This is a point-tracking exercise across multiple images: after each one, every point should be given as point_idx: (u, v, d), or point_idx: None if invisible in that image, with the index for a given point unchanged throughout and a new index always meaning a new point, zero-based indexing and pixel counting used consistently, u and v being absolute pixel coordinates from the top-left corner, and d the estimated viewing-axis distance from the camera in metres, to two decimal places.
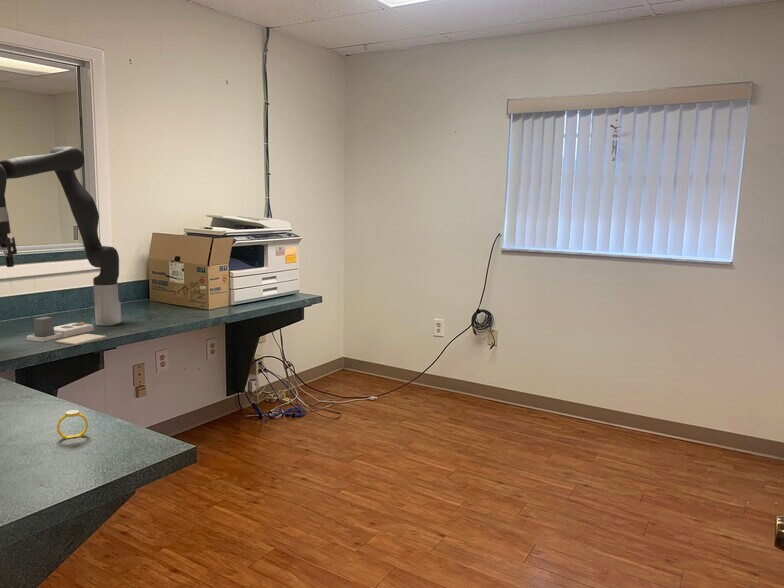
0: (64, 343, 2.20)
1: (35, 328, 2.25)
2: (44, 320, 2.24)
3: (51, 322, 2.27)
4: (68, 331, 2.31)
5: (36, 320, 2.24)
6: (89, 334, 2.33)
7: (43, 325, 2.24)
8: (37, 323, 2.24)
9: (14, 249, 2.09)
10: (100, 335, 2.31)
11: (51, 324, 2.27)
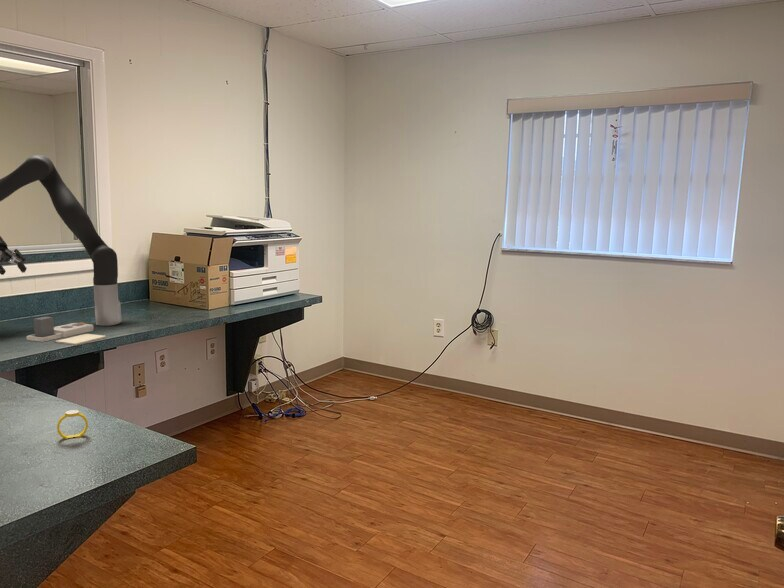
0: (64, 343, 2.20)
1: (35, 328, 2.25)
2: (44, 320, 2.24)
3: (51, 322, 2.27)
4: (68, 331, 2.31)
5: (36, 320, 2.24)
6: (89, 334, 2.33)
7: (43, 325, 2.24)
8: (37, 323, 2.24)
9: None
10: (100, 335, 2.31)
11: (51, 324, 2.27)
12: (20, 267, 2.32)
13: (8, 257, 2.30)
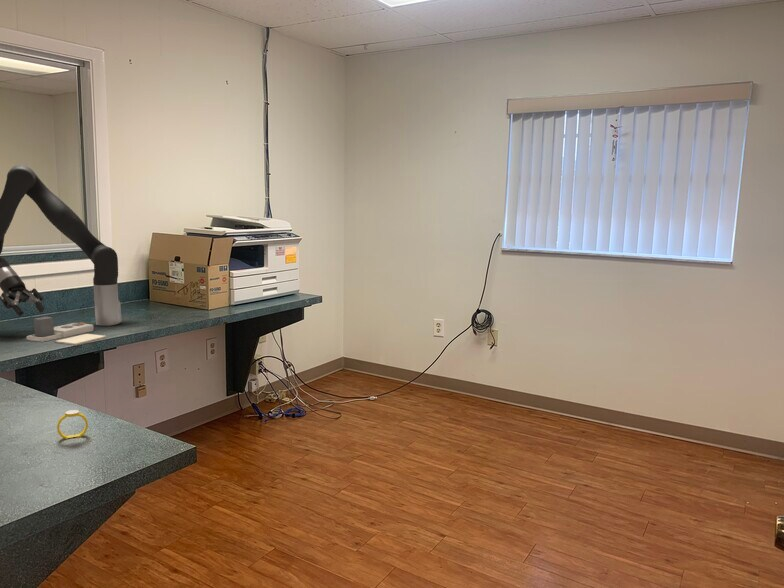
0: (64, 343, 2.20)
1: (35, 328, 2.25)
2: (44, 320, 2.24)
3: (51, 322, 2.27)
4: (68, 331, 2.31)
5: (36, 320, 2.24)
6: (89, 334, 2.33)
7: (43, 325, 2.24)
8: (37, 323, 2.24)
9: None
10: (100, 335, 2.31)
11: (51, 324, 2.27)
12: (38, 307, 2.32)
13: (26, 297, 2.29)
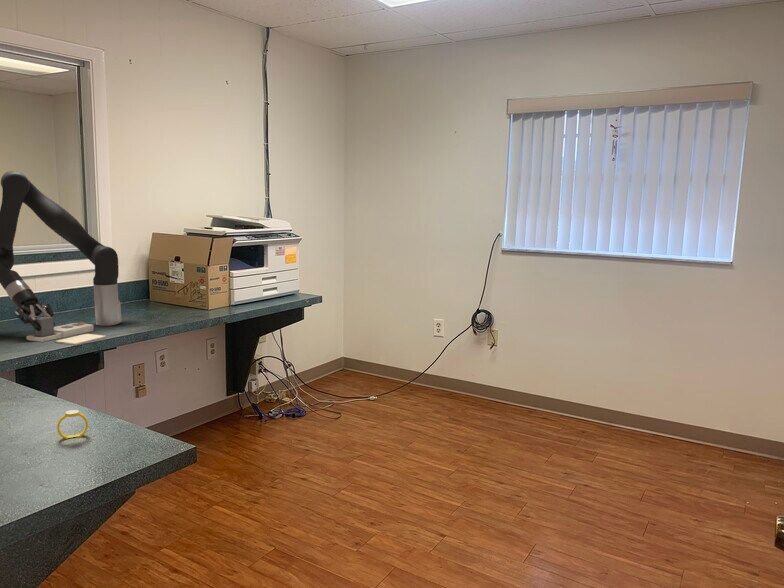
0: (64, 343, 2.20)
1: None
2: (44, 320, 2.24)
3: (51, 322, 2.27)
4: (68, 331, 2.31)
5: None
6: (89, 334, 2.33)
7: (43, 325, 2.24)
8: None
9: None
10: (100, 335, 2.31)
11: (51, 324, 2.27)
12: None
13: (37, 311, 2.27)
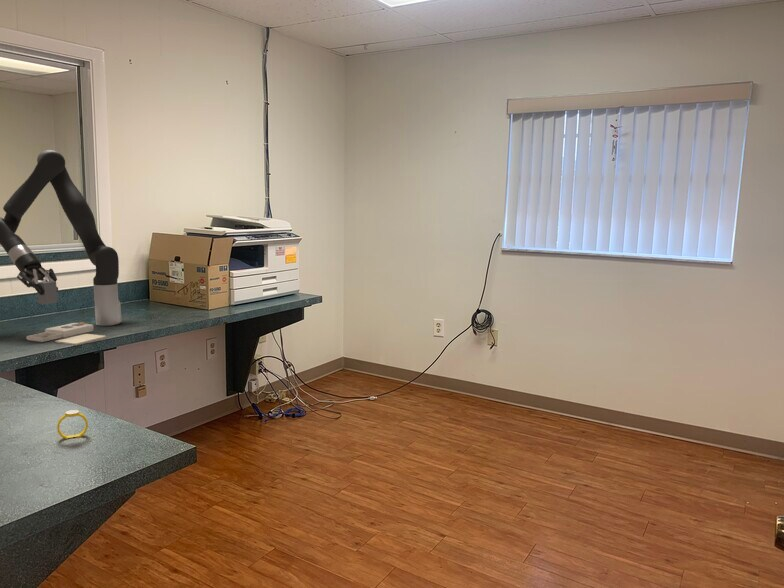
0: (64, 343, 2.20)
1: None
2: (47, 284, 2.22)
3: (54, 287, 2.25)
4: (68, 331, 2.31)
5: None
6: (89, 334, 2.33)
7: (46, 288, 2.22)
8: None
9: None
10: (100, 335, 2.31)
11: (54, 288, 2.25)
12: None
13: (40, 275, 2.25)
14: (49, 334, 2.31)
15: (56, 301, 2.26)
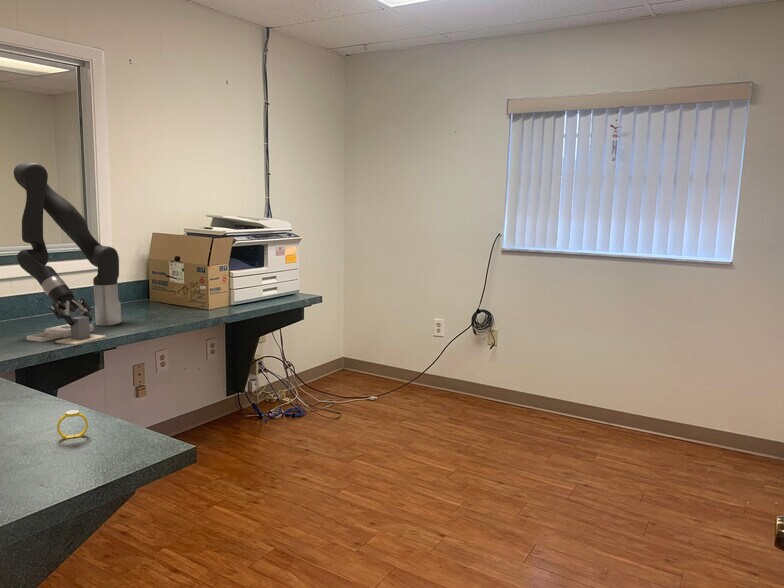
0: (64, 343, 2.20)
1: (71, 328, 2.23)
2: (80, 320, 2.23)
3: (87, 322, 2.26)
4: (68, 331, 2.31)
5: (73, 319, 2.23)
6: None
7: (80, 324, 2.23)
8: None
9: None
10: (100, 335, 2.31)
11: (87, 323, 2.26)
12: None
13: (74, 307, 2.26)
14: (49, 334, 2.31)
15: (89, 336, 2.27)
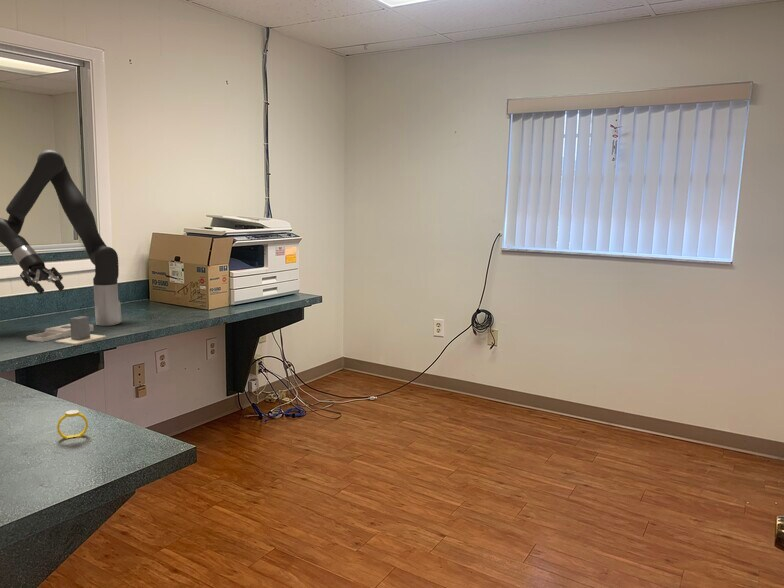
0: (64, 343, 2.20)
1: (71, 328, 2.23)
2: (80, 320, 2.23)
3: (87, 322, 2.26)
4: (68, 331, 2.31)
5: (73, 319, 2.23)
6: None
7: (80, 324, 2.23)
8: (74, 322, 2.23)
9: None
10: (100, 335, 2.31)
11: (87, 323, 2.26)
12: (58, 285, 2.32)
13: (46, 276, 2.30)
14: (49, 334, 2.31)
15: (89, 336, 2.27)
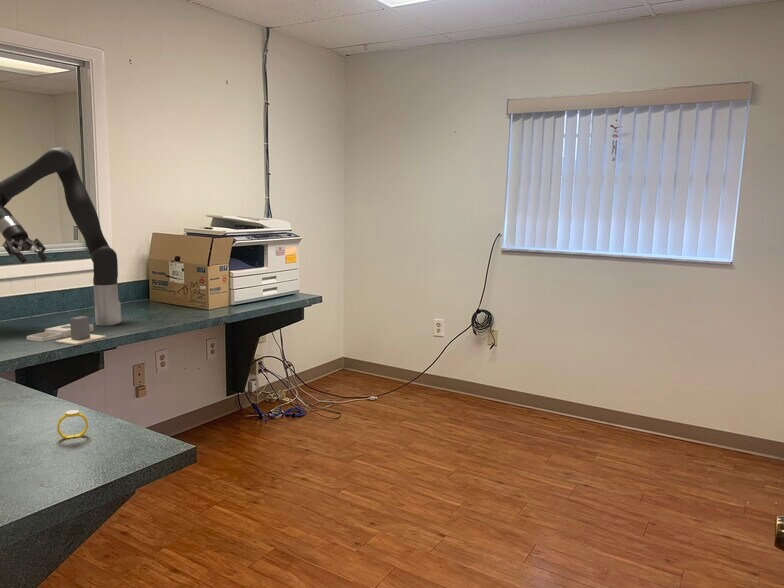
0: (64, 343, 2.20)
1: (71, 328, 2.23)
2: (80, 320, 2.23)
3: (87, 322, 2.26)
4: (68, 331, 2.31)
5: (73, 319, 2.23)
6: None
7: (80, 324, 2.23)
8: (74, 322, 2.23)
9: None
10: (100, 335, 2.31)
11: (87, 323, 2.26)
12: (40, 256, 2.36)
13: (29, 246, 2.33)
14: (49, 334, 2.31)
15: (89, 336, 2.27)
